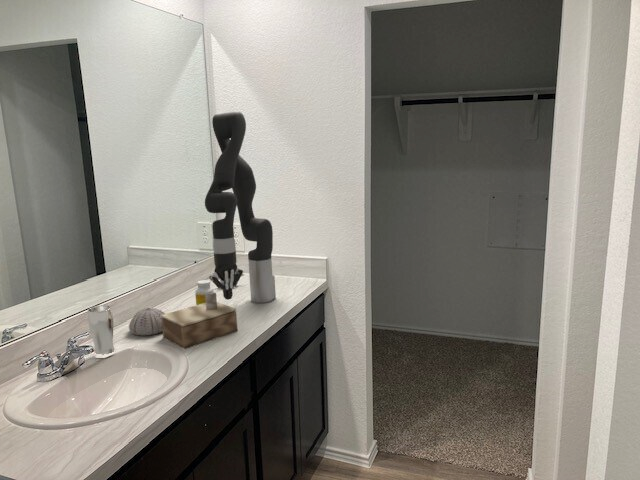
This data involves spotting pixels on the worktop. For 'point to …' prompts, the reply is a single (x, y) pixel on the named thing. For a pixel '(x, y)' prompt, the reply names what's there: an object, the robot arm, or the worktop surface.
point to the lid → (199, 312)
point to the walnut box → (199, 330)
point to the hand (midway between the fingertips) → (228, 298)
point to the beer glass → (101, 328)
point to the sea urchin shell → (147, 322)
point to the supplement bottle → (202, 291)
